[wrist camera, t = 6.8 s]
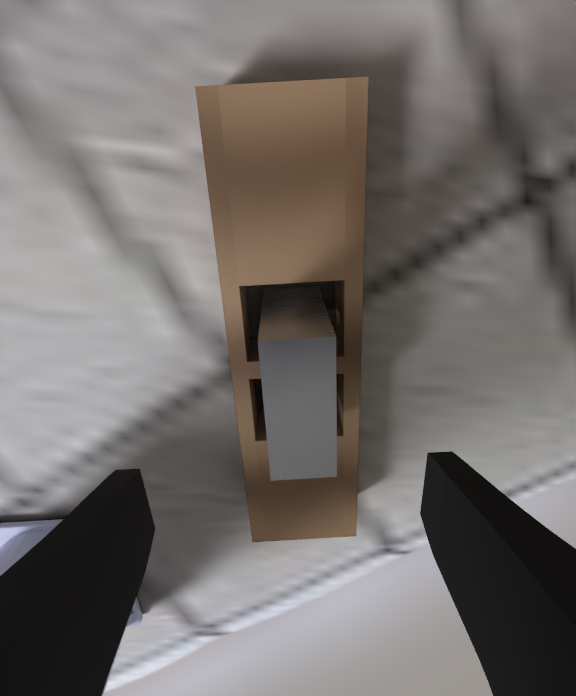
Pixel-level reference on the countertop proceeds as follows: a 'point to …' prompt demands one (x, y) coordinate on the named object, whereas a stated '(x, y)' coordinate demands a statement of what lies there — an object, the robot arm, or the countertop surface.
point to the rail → (290, 264)
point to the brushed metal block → (298, 383)
